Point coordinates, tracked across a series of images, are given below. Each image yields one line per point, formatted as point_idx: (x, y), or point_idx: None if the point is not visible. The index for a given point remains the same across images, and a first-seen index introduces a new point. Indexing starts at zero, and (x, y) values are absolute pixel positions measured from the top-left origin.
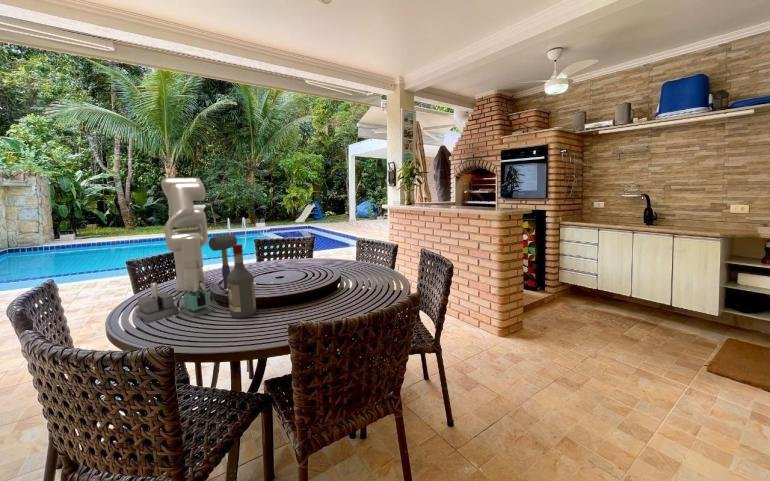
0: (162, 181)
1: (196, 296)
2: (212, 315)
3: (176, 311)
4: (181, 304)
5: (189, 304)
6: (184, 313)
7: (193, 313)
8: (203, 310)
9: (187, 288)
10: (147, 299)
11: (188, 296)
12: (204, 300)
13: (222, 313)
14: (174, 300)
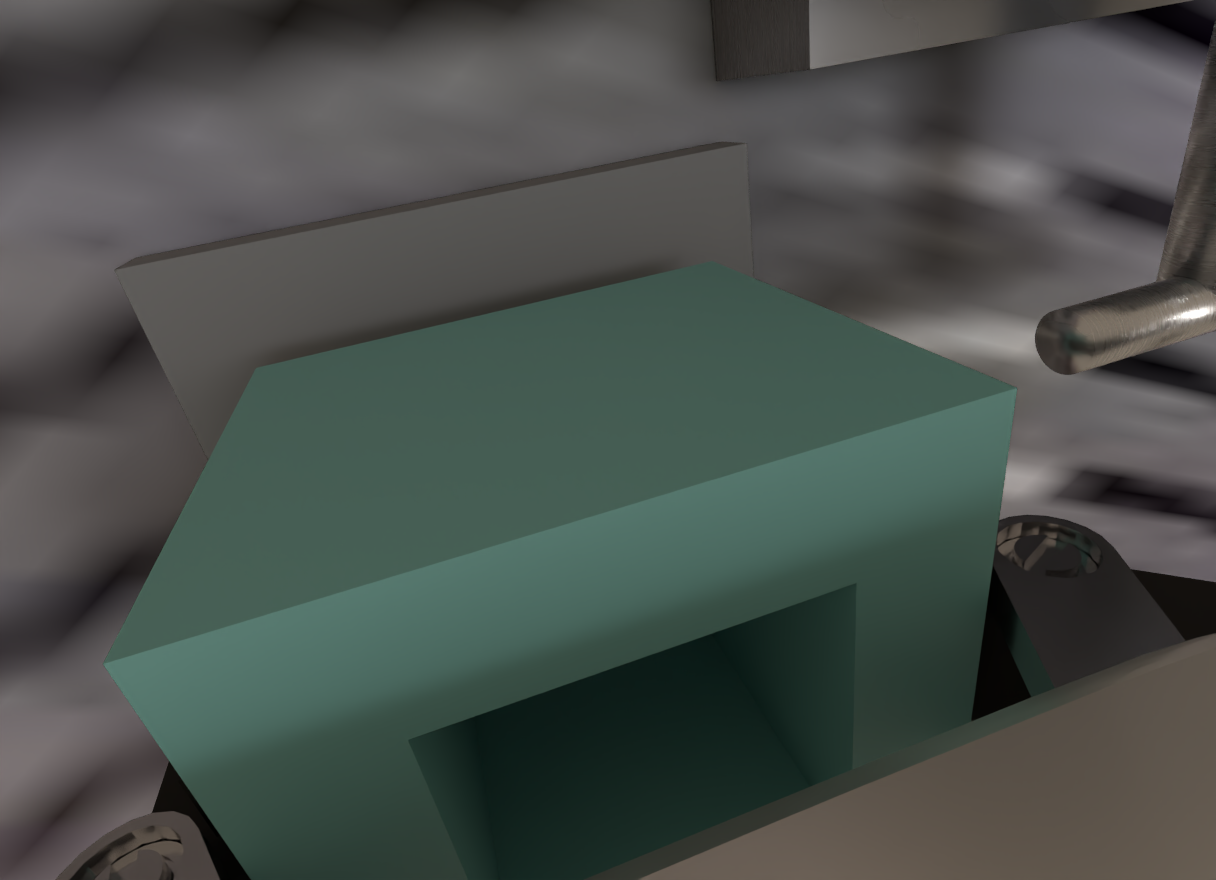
0: None
1: (233, 814)
2: (38, 649)
3: (744, 16)
4: (1146, 270)
5: (482, 362)
6: (562, 175)
7: (286, 340)
8: None
9: (1092, 830)
10: None
11: (548, 504)
12: None
13: (63, 799)
14: (1207, 74)
